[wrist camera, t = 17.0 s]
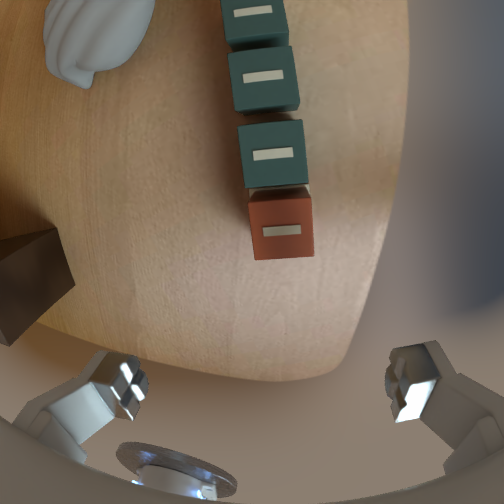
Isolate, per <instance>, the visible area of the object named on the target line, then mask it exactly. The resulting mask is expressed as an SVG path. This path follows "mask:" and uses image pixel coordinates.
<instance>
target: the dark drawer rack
mask: <svg viewBox="0 0 504 504" xmlns="http://www.w3.org/2000/svg"><path fill="white" fill-rule="evenodd" d="M74 286H75V283H74V280H73V278H72V275H71V272H70V269H69V266H68V263H67V260H66V257H65V254H64V251H63V248H62V245H61V241H60V238H59V234H58V231H57V228H54V229H49V230H44V231H40V232H35V233H30V234H26V235H22V236H17V237H13V238H9V239H5V240H1V241H0V343H1V344H4V345H6V346H11V345H12V344H13V342H14V341H16V340H17V339H18V338H19V336H21V335H22V334H23V333H24V332H25V330H27V329H28V328H29V327H30V326H31V325H32V324H33V323H34V322H35V321H36V320H37V319H38V318H39V317H40V316H41V315H42V314H44V313H45V312H46V311H47V310H48V309H49V308H50V307H51V306H52V305H53V304H54V303H56V302H57V301H58V300H59V299H60V298H61V297H62V296H63V295H65V294H66V293H67V292H68V291H69V290H70V289H72V288H73V287H74Z"/></svg>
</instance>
